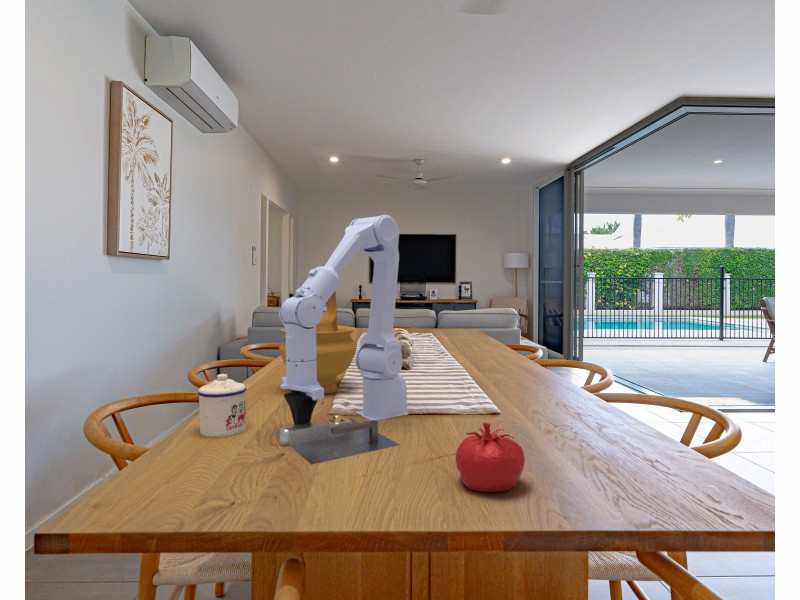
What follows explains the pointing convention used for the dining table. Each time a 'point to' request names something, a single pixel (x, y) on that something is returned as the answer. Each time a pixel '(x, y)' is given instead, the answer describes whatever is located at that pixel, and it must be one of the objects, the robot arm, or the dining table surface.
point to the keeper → (358, 426)
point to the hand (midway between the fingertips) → (302, 429)
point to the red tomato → (489, 461)
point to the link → (312, 431)
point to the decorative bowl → (330, 347)
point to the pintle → (336, 418)
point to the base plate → (340, 446)
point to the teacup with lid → (222, 407)
